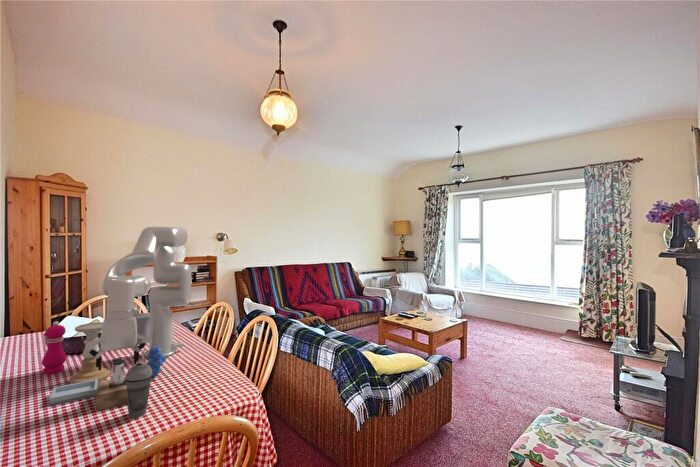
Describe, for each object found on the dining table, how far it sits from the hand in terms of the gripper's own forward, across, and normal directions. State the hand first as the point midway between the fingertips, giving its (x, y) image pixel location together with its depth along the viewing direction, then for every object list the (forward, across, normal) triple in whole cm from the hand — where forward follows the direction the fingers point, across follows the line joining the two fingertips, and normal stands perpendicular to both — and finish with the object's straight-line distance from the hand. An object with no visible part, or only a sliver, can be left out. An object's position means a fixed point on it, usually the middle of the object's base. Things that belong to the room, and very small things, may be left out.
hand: (117, 366), depth 108 cm
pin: (+11, 0, -1) cm, 11 cm away
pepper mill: (+11, +20, -40) cm, 46 cm away
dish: (+11, +11, -11) cm, 19 cm away
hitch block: (+11, 0, -1) cm, 11 cm away
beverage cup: (+12, -5, +14) cm, 19 cm away
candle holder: (+11, +8, -25) cm, 29 cm away
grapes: (+11, -13, -14) cm, 22 cm away
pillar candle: (+10, -11, -65) cm, 67 cm away
